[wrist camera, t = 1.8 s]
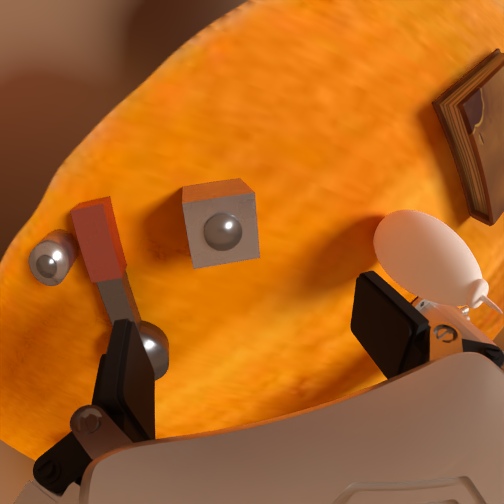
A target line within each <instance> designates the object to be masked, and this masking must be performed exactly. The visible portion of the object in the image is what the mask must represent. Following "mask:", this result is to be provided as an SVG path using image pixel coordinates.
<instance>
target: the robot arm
mask: <svg viewBox="0 0 504 504" xmlns="http://www.w3.org/2000/svg"><path fill="white" fill-rule="evenodd" d="M468 312H469V308H468V307H467V306H464V307H462V308H460V309H459V308H458V307H456V306H448V305H442V304H437V303H433V302H430V301H427V300H425V299H422V298H420V297H418V298H417V299H416V300H415V301H414V302H413V303H412V304H410V303H409V302H408V301H407V300H406V299H405V298H404V297H403V296H401V295H400V294H399V293H398V292H397V291H396V290H395V289H394V288H393V287H391V286H390V285H389V284H388V283H387V282H386V281H385V280H383V279H382V278H381V277H380V276H379V275H378V274H377V273H375V272H374V271H368V272H364V273H361V274H360V275H359V277H358V278H357V279H356V287H355V295H354V303H353V311H352V318H351V331H352V333H353V334H354V335H355V337H356V338H357V339H358V341H359V342H360V343H361V345H362V346H363V347H364V349H365V350H366V351H367V353H368V354H369V355H370V356H371V358H372V359H373V360H374V362H375V363H376V364H377V366H378V367H379V368H380V370H381V371H382V372H383V374H384V375H385V377H386V378H387V379H388V380H386V381H383V382H381V383H378V384H376V385H373V386H371V387H368V388H366V389H363V390H360V391H358V392H355V393H352V394H350V395H347V396H344V397H341V398H338V399H335V400H332V401H330V402H326V403H323V404H320V405H317V406H314V407H311V408H307V409H304V410H301V411H297V412H294V413H290V414H286V415H283V416H279V417H275V418H271V419H267V420H263V421H259V422H254V423H250V424H245V425H241V426H236V427H231V428H226V429H220V430H214V431H208V432H203V433H197V434H190V435H183V436H176V437H168V438H161V439H155V374H154V369H153V366H152V364H151V362H150V359H149V357H148V355H147V352H146V350H145V347H144V345H143V342H142V340H141V337H140V335H139V332H138V329H137V327H136V324H135V322H134V321H132V322H130V320H129V319H128V318H127V319H120V320H115V321H114V324H113V329H112V333H111V337H110V342H109V346H108V351H107V354H103V355H102V356H101V359H100V364H99V368H98V373H97V378H96V383H95V388H94V393H93V399H92V405H86V406H82V407H80V408H79V409H77V410H76V411H75V412H74V413H73V415H72V417H71V420H70V428H71V430H72V432H70V433H69V434H68V435H67V436H65V437H64V438H63V439H62V440H60V441H59V442H58V443H57V444H55V445H54V446H53V447H52V448H50V449H49V450H48V451H47V452H45V453H44V454H43V455H42V456H40V457H39V458H38V459H37V460H36V462H35V464H34V467H33V475H34V480H33V481H32V482H31V481H28V483H27V484H26V485H25V487H24V489H23V490H22V491H21V493H20V494H19V496H18V498H17V499H16V501H15V502H14V504H504V352H503V351H502V350H501V349H500V348H499V347H498V346H497V345H496V344H494V343H493V342H492V341H491V340H490V339H489V338H488V337H487V336H486V335H485V334H484V333H482V332H481V331H480V330H479V329H478V328H477V327H476V326H475V325H473V324H472V323H471V322H470V319H469V316H468V315H466V314H467V313H468Z"/></svg>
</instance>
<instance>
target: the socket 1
mask: <svg viewBox="0 0 504 504" xmlns="http://www.w3.org/2000/svg"><path fill="white" fill-rule="evenodd" d="M78 253H79V249H78V244H77V242H76V240H75V238H74V237H73V236H72V235H71V234H70V233H69V232H67V231H65V230H61V229H57V230H54V231H52V232H50V233H49V234H48V235H47V236H46V237H45V238H44V239H43V240H42V241H41V242H40V243H39V244H38V245H37V246H36V247H35V248H34V249H33V250H32V252H31V253H30V256H29V266H30V269H31V272H32V273H33V275H34V276H35V278H36V279H37V280H38V281H40V282H41V283H43V284H45V285H48V286H55V285H58V284H59V283H61V282H62V281H63V279H64V278H65V276H66V275H67V273H68V272H69V270H70V269H71V267H72V266H73V264H74V263H75V261H76V259H77V257H78Z"/></svg>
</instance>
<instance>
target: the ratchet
mask: <svg viewBox="0 0 504 504" xmlns="http://www.w3.org/2000/svg"><path fill="white" fill-rule="evenodd" d="M70 212H71V216H72V220H73V224H74V228H75V231H76V235H77V239H78V242H79V245H80V249H81V252H82V255H83V258H84V261H85V265H86V268H87V271H88V274H89V276H90V279H91V282H92V283H94V282H96V283H97V286H98V289H99V292H100V294H101V297H102V300H103V302H104V305H105V308H106V310H107V313H108V315H109V318H110V320H111V323H112V325H113V324H114V321H115V320H120V319H127V318H128V319H129V320H130V322H132V321H134V322H135V324H136V327H137V329H138V332H139V335H140V337H141V340H142V342H143V345H144V347H145V350H146V352H147V355H148V357H149V359H150V362H151V364H152V366H153V369H154V374H155V380H157V379H159V378H161V377H162V376H163V375H164V374H165V373H166V372H167V370H168V367H169V343H168V339H167V337H166V335H165V334H164V332H163V331H162V330H161V329H160V328H158V327H157V326H155V325H154V324H151V323H149V322H146V321H142V320H141V317H140V314H139V312H138V309H137V306H136V303H135V300H134V297H133V293H132V290H131V287H130V284H129V281H128V277H127V274H126V271H125V269H126V266H127V264H126V260H125V257H124V253H123V249H122V246H121V242H120V238H119V234H118V230H117V226H116V221H115V217H114V213H113V208H112V204H111V199H110V196H109V197H104V198H100V199H95V200H91V201H87V202H82V203H79V204H78V205H77V206H76V207H74V208H73V209H72V210H71V211H70ZM110 337H111V336H110ZM109 342H110V340H109ZM108 346H109V344H108ZM107 351H108V348H107ZM106 354H107V352H106Z"/></svg>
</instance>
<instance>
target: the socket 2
mask: <svg viewBox="0 0 504 504" xmlns="http://www.w3.org/2000/svg"><path fill="white" fill-rule="evenodd" d="M182 206H183V212H184V218H185V224H186V230H187V236H188V242H189V247H190V253H191V258H192V263H193V268H194V269H197V268H203V267H209V266H215V265H220V264H226V263H232V262H238V261H244V260H249V259H255V258H260V252H259V239H258V227H257V215H256V203H255V192H254V191H253V190H252V189H250V188H249V187H248V186H247V185H246V184H245V183H244V182H243V181H242V180H241V179H240V178H238V179H231V180H223V181H216V182H209V183H203V184H196V185H190V186H184V187H183V190H182Z"/></svg>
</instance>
